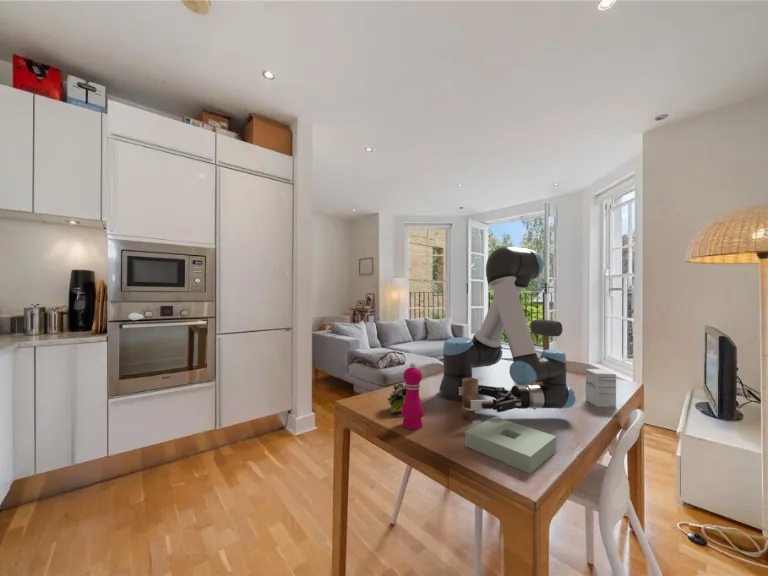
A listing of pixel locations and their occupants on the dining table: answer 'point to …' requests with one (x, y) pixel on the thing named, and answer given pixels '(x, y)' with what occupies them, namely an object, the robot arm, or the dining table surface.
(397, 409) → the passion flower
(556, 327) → the rubber mallet
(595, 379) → the supplement box
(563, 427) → the dining table surface
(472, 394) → the walnut peg
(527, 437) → the sage board
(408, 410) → the pepper mill
